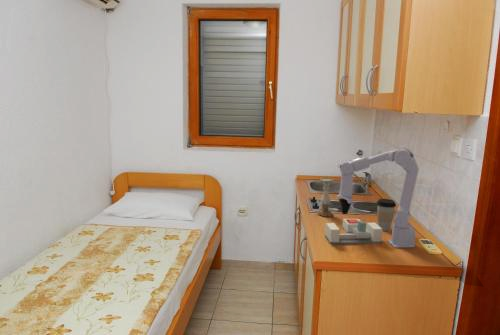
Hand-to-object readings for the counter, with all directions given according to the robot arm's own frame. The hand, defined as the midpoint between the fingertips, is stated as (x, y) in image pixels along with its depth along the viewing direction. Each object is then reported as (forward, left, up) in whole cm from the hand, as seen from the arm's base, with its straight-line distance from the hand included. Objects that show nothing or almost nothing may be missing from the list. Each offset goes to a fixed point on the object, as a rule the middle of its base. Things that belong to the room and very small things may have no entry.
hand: (344, 213), depth 192 cm
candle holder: (+1, -31, -11) cm, 33 cm away
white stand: (-2, +8, -10) cm, 13 cm away
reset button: (-6, -4, -8) cm, 11 cm away
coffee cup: (-23, -6, -11) cm, 26 cm away
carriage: (-6, +8, -9) cm, 13 cm away
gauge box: (-6, -4, -10) cm, 13 cm away
